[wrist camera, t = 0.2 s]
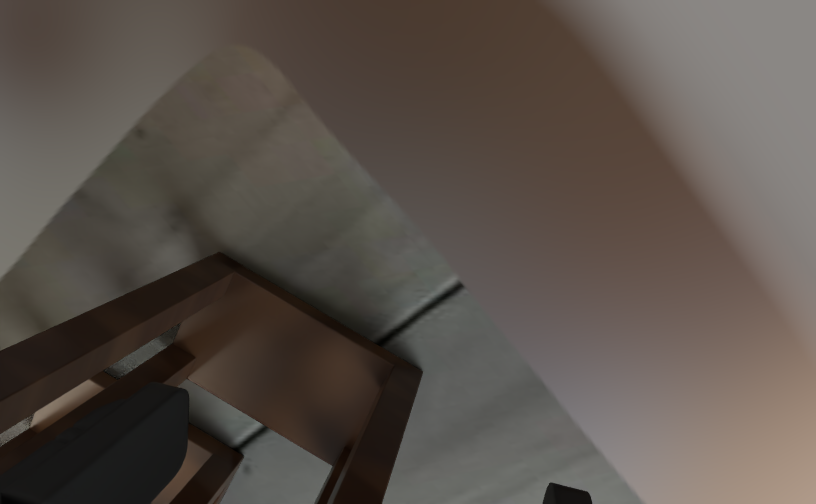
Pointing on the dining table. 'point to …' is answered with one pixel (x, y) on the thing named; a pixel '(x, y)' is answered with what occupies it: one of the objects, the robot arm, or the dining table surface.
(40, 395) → the stand
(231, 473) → the brown slatted wooden frame
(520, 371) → the dining table surface
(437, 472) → the dining table surface
